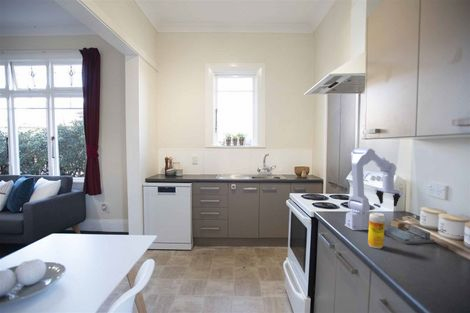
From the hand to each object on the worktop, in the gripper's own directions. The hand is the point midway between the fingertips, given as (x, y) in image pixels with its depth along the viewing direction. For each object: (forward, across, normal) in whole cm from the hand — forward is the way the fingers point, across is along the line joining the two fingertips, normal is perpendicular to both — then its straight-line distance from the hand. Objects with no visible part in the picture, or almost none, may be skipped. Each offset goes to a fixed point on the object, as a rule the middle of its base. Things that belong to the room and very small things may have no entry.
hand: (388, 204), depth 147 cm
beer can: (+6, -14, +45) cm, 47 cm away
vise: (+8, -18, +21) cm, 29 cm away
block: (+9, -10, +14) cm, 20 cm away
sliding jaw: (+6, -16, +26) cm, 31 cm away
